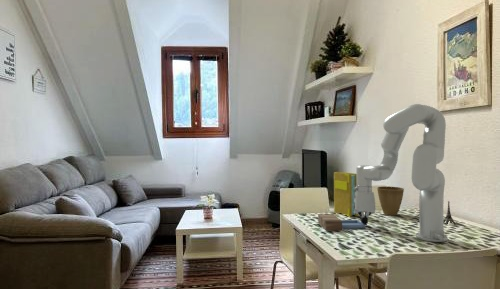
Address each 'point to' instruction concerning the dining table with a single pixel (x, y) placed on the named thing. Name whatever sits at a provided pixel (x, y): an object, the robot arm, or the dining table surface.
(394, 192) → the plant pot
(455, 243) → the dining table surface
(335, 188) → the book
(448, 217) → the eiffel tower figurine
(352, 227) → the blue tray
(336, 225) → the brown rectangular block
